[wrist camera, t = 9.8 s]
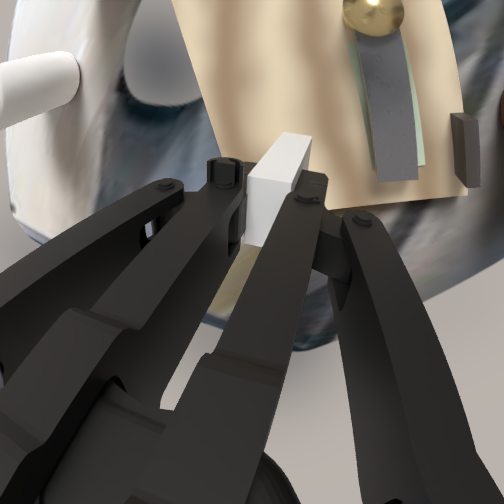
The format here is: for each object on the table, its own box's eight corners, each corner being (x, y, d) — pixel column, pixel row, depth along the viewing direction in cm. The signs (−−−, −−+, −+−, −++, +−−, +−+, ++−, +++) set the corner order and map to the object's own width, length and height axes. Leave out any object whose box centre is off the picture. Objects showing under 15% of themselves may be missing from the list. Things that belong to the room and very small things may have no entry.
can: (90, 63, 26) (-4, 87, 16) (70, 114, 29) (-14, 152, 20) (55, 42, 24) (-34, 61, 15) (38, 90, 28) (-43, 121, 19)
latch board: (411, -59, 13) (424, -79, 9) (460, 186, 24) (479, 211, 20) (178, -9, 20) (147, -17, 16) (248, 211, 31) (233, 238, 27)
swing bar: (336, -7, 16) (336, -17, 14) (388, -10, 15) (396, -21, 12) (370, 171, 23) (373, 187, 21) (416, 168, 22) (426, 184, 19)
